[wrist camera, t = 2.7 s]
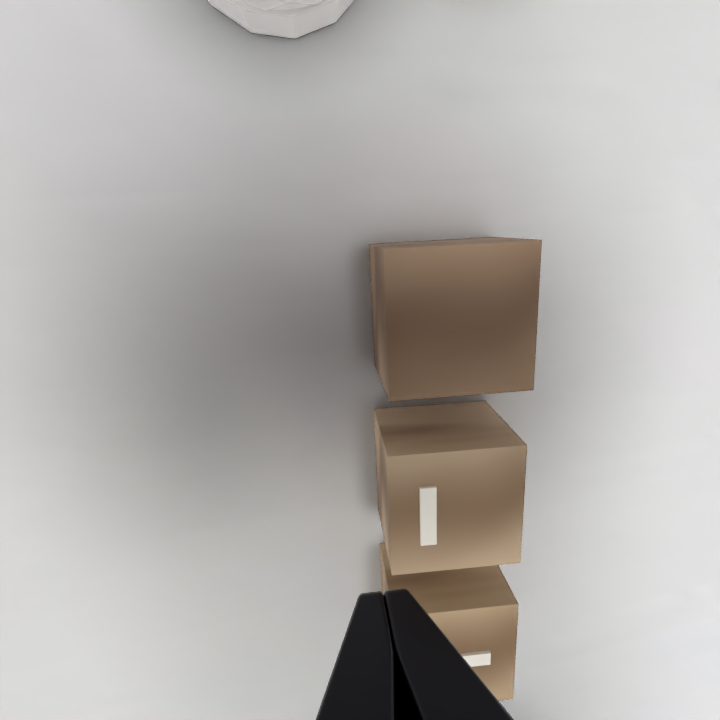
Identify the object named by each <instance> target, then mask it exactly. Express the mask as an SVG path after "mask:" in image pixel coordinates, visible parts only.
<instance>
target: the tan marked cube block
mask: <svg viewBox="0 0 720 720" xmlns="http://www.w3.org/2000/svg"><path fill="white" fill-rule="evenodd" d="M374 424H375V447H376V471H377V494H378V510H379V515H380V520H381V525H382V530H383V535H384V540H385V545H386V550H387V554H388V559H389V564H390V569H391V574H392V575H402V574H412V573H422V572H432V571H442V570H452V569H462V568H473V567H483V566H493V565H503V564H513V563H520V558H521V541H522V524H523V507H524V490H525V473H526V456H527V445H526V443H525V442H524V441H523V440H522V439H521V438H520V437H519V436H518V435H517V434H516V433H515V432H514V431H513V430H512V429H511V428H510V426H509V425H508V424H507V423H506V422H505V421H504V420H503V419H502V418H501V417H500V416H499V415H498V414H497V413H496V412H495V411H494V409H493V408H492V407H491V406H490V405H489V404H488V403H487V402H486V401H474V402H460V403H447V404H434V405H420V406H407V407H394V408H380V409H374Z"/></svg>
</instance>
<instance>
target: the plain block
mask: <svg viewBox="0 0 720 720" xmlns="http://www.w3.org/2000/svg"><path fill="white" fill-rule="evenodd" d="M541 245H542V240H533V239H516V238H499V237H484V238H467V239H449V240H432V241H414V242H397V243H379V244H369V253H370V275H371V297H372V319H373V341H374V363H375V367H376V369H377V372H378V374H379V377H380V380H381V382H382V385H383V387H384V390H385V392H386V395H387V397H388V400H389V401H402V400H414V399H427V398H440V397H452V396H465V395H478V394H490V393H503V392H516V391H528V390H533V388H534V370H535V352H536V335H537V317H538V299H539V281H540V263H541Z"/></svg>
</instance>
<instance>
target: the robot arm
mask: <svg viewBox="0 0 720 720" xmlns="http://www.w3.org/2000/svg"><path fill="white" fill-rule="evenodd" d="M316 720H514V719H513V718H512V717H511V716H510V714H509V713H508V712H507V711H506V709H505V708H504V707H503V706H502V705H501V703H500V702H499V701H498V700H497V698H496V697H495V696H494V695H493V693H492V692H491V691H490V690H489V689H488V687H487V686H486V685H485V684H484V682H483V681H482V680H481V679H480V678H479V676H478V675H477V674H476V673H475V671H474V670H473V669H472V668H471V666H470V665H469V664H468V663H467V662H466V660H465V659H464V658H463V657H462V655H461V654H460V653H459V652H458V650H457V649H456V648H455V647H454V646H453V644H452V643H451V642H450V641H449V639H448V638H447V637H446V636H445V634H444V633H443V632H442V631H441V630H440V628H439V627H438V626H437V625H436V623H435V622H434V621H433V620H432V618H431V617H430V616H429V615H428V614H427V612H426V611H425V610H424V609H423V607H422V606H421V605H420V604H419V602H418V601H417V600H416V599H415V598H414V596H413V595H412V594H411V593H410V592H409V590H407V589H405V588H401V589H393V590H387V591H385V593H384V595H383V593H382V592H380V591H377V592H369V593H362V594H360V595H359V597H358V599H357V602H356V605H355V608H354V611H353V614H352V617H351V619H350V622H349V625H348V628H347V631H346V634H345V637H344V640H343V642H342V645H341V648H340V651H339V654H338V657H337V660H336V663H335V666H334V668H333V671H332V674H331V677H330V680H329V683H328V686H327V689H326V692H325V694H324V697H323V700H322V703H321V706H320V709H319V712H318V715H317V717H316Z"/></svg>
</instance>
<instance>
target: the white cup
mask: <svg viewBox="0 0 720 720" xmlns="http://www.w3.org/2000/svg"><path fill="white" fill-rule="evenodd" d="M353 1H354V0H208V2H209V3H210V4H211V5H212V6H213V7H215V8H216V9H217V10H219V11H220V12H222V13H223V14H225V15H226V16H228V17H229V18H231V19H232V20H233V21H235V22H236V23H238V24H239V25H241V26H242V27H244V28H245V29H247V30H248V31H249V32H251V33H257V34H264V35H272V36H279V37H287V38H298V37H301V36H303V35H306V34H308V33H311V32H313V31H316V30H318V29H320V28H323V27H325V26H328V25H330V24H333V23H335V22H336V21H337V20H338V19H339V18H340V17H341V15H342V14H343V13H344V12H345V11H346V9H347V8H348V7H349V6H350V5H351V3H352V2H353Z"/></svg>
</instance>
